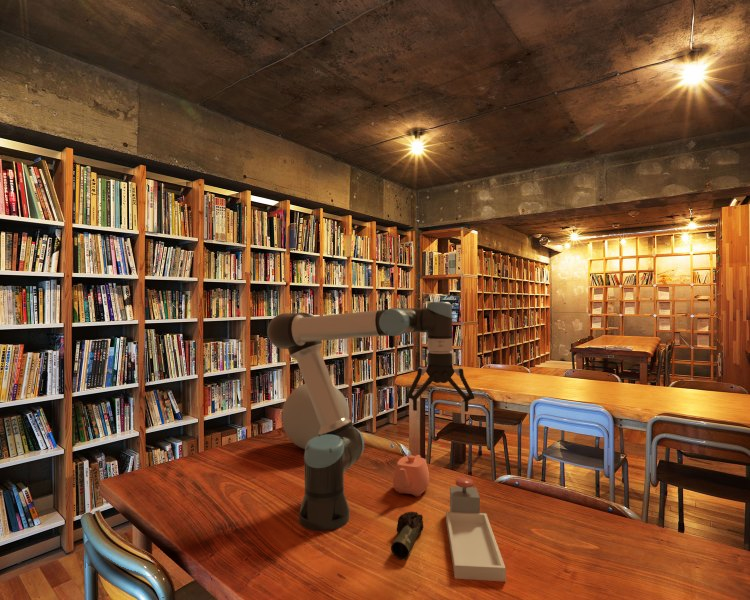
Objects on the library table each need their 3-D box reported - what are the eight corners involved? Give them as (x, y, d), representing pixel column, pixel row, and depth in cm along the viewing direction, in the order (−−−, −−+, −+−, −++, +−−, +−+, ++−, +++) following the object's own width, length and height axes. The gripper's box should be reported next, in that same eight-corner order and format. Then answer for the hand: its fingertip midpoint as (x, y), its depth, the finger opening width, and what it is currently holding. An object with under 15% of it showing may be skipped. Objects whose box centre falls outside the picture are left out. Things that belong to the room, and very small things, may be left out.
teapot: (403, 478, 156) (403, 446, 156) (434, 483, 152) (434, 450, 152) (384, 501, 138) (384, 464, 138) (419, 508, 133) (418, 470, 133)
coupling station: (454, 580, 98) (454, 532, 98) (444, 512, 130) (444, 475, 130) (505, 583, 97) (505, 534, 97) (482, 513, 129) (482, 477, 129)
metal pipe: (408, 562, 104) (409, 539, 104) (383, 556, 106) (383, 533, 106) (426, 529, 120) (426, 509, 120) (403, 524, 123) (404, 504, 123)
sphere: (271, 458, 177) (271, 387, 177) (296, 436, 206) (295, 375, 207) (340, 462, 172) (340, 389, 172) (355, 439, 201) (355, 377, 202)
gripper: (398, 353, 126) (399, 424, 125) (483, 353, 123) (484, 426, 123) (399, 350, 133) (399, 417, 133) (479, 351, 131) (480, 419, 131)
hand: (440, 421), depth 128 cm, fingers open, 13 cm apart
